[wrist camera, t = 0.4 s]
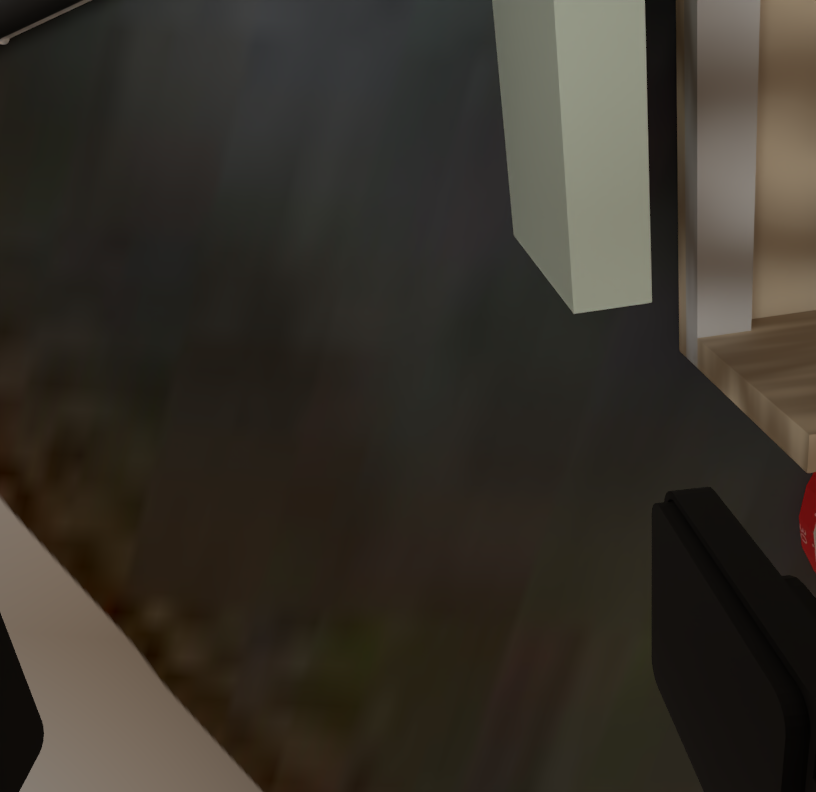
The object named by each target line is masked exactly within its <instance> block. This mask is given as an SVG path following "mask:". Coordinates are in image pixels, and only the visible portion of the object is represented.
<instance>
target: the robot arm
mask: <svg viewBox="0 0 816 792" xmlns="http://www.w3.org/2000/svg"><path fill="white" fill-rule="evenodd" d="M652 665H653V671H654V676H655V680H656V683H657V686H658V688H659V691H660V693H661V695H662V697H663V700H664V702H665V704H666V707H667V709H668V711H669V713H670V716H671V718H672V720H673V722H674V725H675V727H676V729H677V732H678V734H679V736H680V738H681V741H682V743H683V745H684V747H685V750H686V752H687V754H688V757H689V759H690V761H691V763H692V766H693V768H694V770H695V773H696V775H697V777H698V779H699V782H700V784H701V786H702V788H703V791H704V792H816V598H815V597H814V596H813V595H812V593H811V592H810V591H809V590H808V589H807V587H806V586H805V585H804V584H803V583H802V582H801V581H800V580H799V579H798V578H796V577H793V576H790V575H788V576H781V575H780V573H779V572H778V571H777V570H776V568H775V567H774V566H773V565H772V563H771V562H770V561H769V559H768V558H767V557H766V556H765V554H764V553H763V552H762V551H761V549H760V548H759V547H758V546H757V544H756V543H755V542H754V540H753V539H752V538H751V537H750V535H749V534H748V533H747V532H746V530H745V529H744V528H743V527H742V525H741V524H740V523H739V521H738V520H737V519H736V518H735V516H734V515H733V514H732V513H731V511H730V510H729V509H728V508H727V506H726V505H725V504H724V502H723V501H722V500H721V499H720V497H719V496H718V495H717V494H716V492H715V491H714V490H713V489H712V488H711V487H703V488H694V489H685V490H676V491H668V492H667V493H666V496H665V501H664V502H663V503H655V504H654V505H653V508H652ZM43 737H44V731H43V724H42V720H41V718H40V715H39V713H38V710H37V707H36V705H35V702H34V700H33V697H32V695H31V692H30V689H29V686H28V684H27V681H26V679H25V676H24V674H23V671H22V668H21V666H20V663H19V660H18V658H17V655H16V653H15V650H14V647H13V645H12V642H11V640H10V637H9V634H8V632H7V629H6V626H5V624H4V621H3V619H2V616H1V613H0V792H19V791H20V789H21V787H22V785H23V783H24V781H25V779H26V778H27V776H28V774H29V772H30V770H31V768H32V766H33V764H34V762H35V760H36V759H37V757H38V755H39V753H40V750H41V748H42V744H43Z"/></svg>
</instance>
